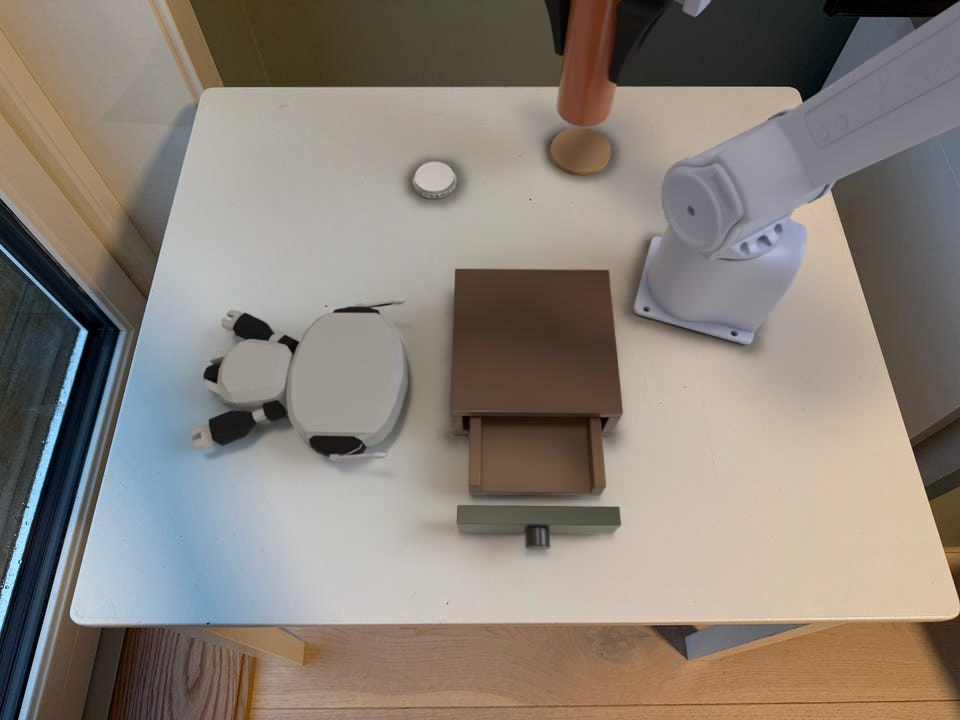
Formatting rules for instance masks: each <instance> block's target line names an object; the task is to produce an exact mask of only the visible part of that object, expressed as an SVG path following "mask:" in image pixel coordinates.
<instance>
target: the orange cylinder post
mask: <svg viewBox="0 0 960 720" xmlns="http://www.w3.org/2000/svg"><path fill="white" fill-rule="evenodd" d="M621 1H622V0H571V1H570V8H569V15H568V23H567V30H566V38H565V45H564V52H563V55H562V61H561V68H560V74H559V81H558V90H557V96H556V97H557V98H556V106H555V107H556V112H557V114H558V115H559V117H560V118H561V119H562V120H563V121H564V122H566V123H568V124H570V125H572V126H575V127H578V128H590V127H591V128H592V127H595V126H598V125H600V124H602V123H604V122H605V121H606V120H607V119H608V118H609V116H610V114H611V111H612V106H613V102H614V98H615V93H616V89H617V85H618V84H614V83H612V82H610V81H609V72H610V67H611V63H612V59H613V55H614V51H615V45H616V34H617V19H616V7H617V4H618V3H620V2H621Z"/></svg>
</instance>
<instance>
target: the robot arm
mask: <svg viewBox="0 0 960 720" xmlns="http://www.w3.org/2000/svg"><path fill="white" fill-rule="evenodd" d="M543 1H544V4H545V7H546V10H547V14H548V19H549V23H550V29H551V35H552V40H553V49H554V54H556V55H558V56H560V57H563V52H564V45H565V38H566V30H567V23H568V15H569V8H570V1H571V0H543ZM711 1H712V0H622V1H621V2H620V3H618V4H617V7H616V19H617V34H616V45H615V51H614V55H613V59H612V63H611V67H610V72H609V81H610V82H612V83H614V84H617V85H618V84H620V82H621V81H622V80H623V79H624V78H625V77H626V76H627V75H628V74H629V73H630V72H631V70H632V68H633V65H634V63H635V61H636V59H637V57H638V55H639V53H640V51H641V49H642V47H643V46H644V45H645V43H646V40H647V39H648V37H650V35H651V34H652V31H653V30H654V29H655V28H656V26H657V24H658V23H659V22H660V20H661V19H662V17H663V16H664V15H665V14H666V12H667V11H668V10H669V9H670V8H671V7H672V6H673V4H674V3H675V2H677V3H679V4H681V5H683V6H682V12H683V13H684V14H687V15H689V16H691V17H694V18H696V17H697V16H699V15H700V13H702V12H703V11H704V10H705V9H706V8H707V6H708V5H709V4H710V3H711ZM958 126H960V0H958V2H956V3H954V4H952V5H951V6H950V7H948V8H946V9H945V10H943V11H942V12H940V13H939V14H937V15H935V16H934V17H933V18H931V19H929V20H928V21H926V22H925V23H924V24H922V25H921V26H919V27H917V28H915V29H914V30H912V31H911V32H910V33H908V34H907V35H904V36H903V37H902V38H900V39H898V40H897V41H896V42H894V43H893V44H891V45H889V46H888V47H887V48H885V49H884V50H882V51H880V52H879V53H877V54H876V55H874V56H873V57H871V58H870V59H868V60H866V61H865V62H863V63H861V64H860V65H859V66H857V67H856V68H854V69H853V70H851V71H850V72H848V73H846V74H845V75H843V76H842V77H840V78H839V79H836V81H834V82H832V83H831V84H829V85H828V86H826V87H825V88H824V89H822V90H820V91H819V92H817V93H816V94H813V96H811V97H810V98H808V99H806V100H805V101H802V103H800V104H799V105H797V106H795V107H793V108H787V109H784V110H781V111H779V112H777V113H774V114H773V115H772V116H770V117H768V118H767V119H766V120H765V121H764V122H762V123H760V124H758V125H756V126H753V127H751V128H750V129H747V130H746V131H744V132H742V133H739V134H737V135H735V136H733V137H731V138H729V139H727V140H725V141H723V142H721V143H719V144H717V145H715V146H713V147H711V148H708V149H707V150H704V151H702V152H700V153H699V154H696V155H694V156H692V157H685V158H683V159H680V160H678V161H676V162H674V163H673V164H671V166H670V167H668V169H667V170H666V172H665V174H664V175H663V179H662V185H661V207H662V212H663V214H664V217H665V220H666V222H667V224H668V225H667V226H666V230H665V231H664V234H663V236H658V235H655V236H653V237H652V238H651V240H650V242H649V243H650V244H649V247H648V250H647V254H646V258H645V262H644V266H643V270H642V274H641V277H640V281H639V285H638V289H637V292H636V296H635V300H634V304H633V312H634V313H635V314H636V315H639V316H641V317H644V318H645V317H646V318H649V319H653V320H656V321H660V322H663V323H666V324H671V325H674V326H677V327H681V328H684V329H688V330H691V331H695V332H700V333H702V334H706V335H710V336H714V337H717V338H721V339H724V340H728V341H731V342H735V343H738V344H743V345H747V346H748V345H750V344H752V342H753V341H754V336H755V333H756V331H757V330H758V329H759V328H760V326H761V325H762V324H763V322H765V320H766V319H767V317H768V316H769V315H770V314H771V313H772V312H773V310H774V309H775V308H776V307H777V306H778V305H779V303H780V302H781V300H783V298H784V297H785V295H786V294H788V291H789V289H790V288H791V287H792V284H793V283H794V280H795V279H796V277H797V275H798V272H799V270H800V267H801V265H802V262H803V258H804V255H805V251H806V246H807V241H808V230H807V227H806V225H804V224H802V223H799V222H797V221H795V220H792V219H790V217H791V216H792V215H793V213H794V212H795V210H797V209H799V208H800V207H802V206H804V205H806V204H811V203H813V202H815V201H817V200H819V199H822V197H824V196H826V195H827V194H828V193H829V192H830V191H831V190H832V188H833V187H834V185H835V184H836V182H837V181H839V180H841V179H842V178H845V177H847V176H850V175H851V174H853V173H856V172H859V171H860V170H864V169H865V168H867V167H869V166H872V165H874V164H877V163H878V162H881V161H882V160H885V159H888V158H890V157H892V156H894V155H897V154H899V153H900V152H901V153H902V152H903V151H905V150H907V149H909V148H913V147H914V146H917V145H918V144H921V143H923V142H926V141H927V140H929V139H932V138H934V137H936V136H938V135H941V134H943V133H946V132H947V131H950V130H952V129H954V128H956V127H958ZM645 310H647V311H645ZM733 334H734V335H733Z"/></svg>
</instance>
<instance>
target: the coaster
mask: <svg viewBox="0 0 960 720" xmlns="http://www.w3.org/2000/svg"><path fill="white" fill-rule="evenodd" d="M549 152H550V157H551V159H552V161H553V163H554V164H555V165H556V166H557V167H558V168H559V169H561V170H562V171H564V172H565V173H568V174H571V175H577V176H588V175H593V174H596V173H598V172H600V171H602V170H603V169H605V167H607V165H608V163H609V161H610V160H611V155H612V149H611V145H610V143H609V142H608V140H607V138H606V137H604V136H603V135H602V134H601V133H600V132H597V131H596V130H593V129H590V128H587V127H572V128H568V129H565V130H563V131H561V132H559V133H558V134H557V135H556V136H555V137H554V138H553V140H552V142H551V144H550V149H549Z"/></svg>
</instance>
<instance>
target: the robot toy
mask: <svg viewBox="0 0 960 720" xmlns="http://www.w3.org/2000/svg"><path fill="white" fill-rule="evenodd" d="M406 301H407V300H406V299H404V298H394V299H393V300H386V301H380V302H374V303H366V304H363V303H362V302H360V303H355V304H354V305H353V306H349V305H348V306H346V307H340V308H337V309H334V310H333V312H327V313H325V314H324V315H322V316H320V317H317V318H316V319H315V320H314V321H313V322H312V323H311V324H310V325H309V326H308V327H307V329H306V330H305V331H304V333H303V334H302V336H301V338H300V341H299V340H298V339H296V338H293V337H291V336H289V335H287V334H283V335H282V336H281V337H280V336H278V335H276V334H275V332H274V330H273V329H272V328H271V326H270V325H269V323H268V322H266V321H264V320H262V319H261V318H258V317H257V316H255V315H252V314H250V313H247V312H243V311H241V310H237V309H236V310H235V309H230V310H228V311H227V312H226V314H225V315H226V316H227V317H228V318H230V320H229V319H228V318H225V317H223V318H222V319H221V322H220V323H221V327H222V328H223V329H224V330H225V331H227V332H233V333H234V335H235V336H237V337H238V338H240V339H242V340H241V341H238V342H236V343H235V344H234V345H233V346H230V347H227V348H223V349H220V350H217V351H216V352H215V353H214V354H213V355H212V357H211V358H210V359H209V362H210V363H211V364H210V365H208V366H206V368H205V369H204V372H203V375H202V378H203V381H204V383H205V387H206V389H207V390H208V391H209V392H210V393H211V394H212V395H214V396H215V398H217V399H218V400H219V401H220V402H222V403H224V404H227V405H230V406H231V407H232V408H233V409H235V410H233V409H232V410H229V411H227V412H224V413H221V414H219V415H216V416H213V417H211V418H209V419H208V425H198V426H197V427H196V428H194V429H193V430H191V432H190V434H189V438H190V440H191V442H190V443H191V447H192V448H193V449H194V450H196V451H204V450H207V449H210V448H211V447H212V446H213V445H215V443H216V444H217V445H219V446H222V447H224V446H225V445H228V444H230V443H233V442H235V441H238V440H242V439H244V438H246V437H247V436H248V435H249V433H250V432H251V431H252V430H253V429H254V427H256V425H257V424H258V423H259V422H262V421H265V420H269V421H270V422H273V423H274V422H277V421H280V420H282V419H285V418H287V415H288V420H289V422H290V423H291V425H292V427H293V429H294V431H295V432H296V434H298V435H299V437H301V439H303V441H305V442H307V443H309V446H310V447H311V449H312V450H314V452H316V453H318V454H320V455H322V456H324V457H326V458H328V459H329V461H330V462H333V463H340V462H343V461H344V460H359V459H361V460H362V459H374V458H375V459H384V458H385V457H387V456H388V454H386V453H384V452H381V451H377V452H374V453H365V452H366V449H367V448H368V447H372V446H375V445H378V444H381V443H382V442H383V441H384V440H385V439H386V438H387V436H389V434H391V432H392V430H393V429H394V427H395V425H396V424H397V421H398V419H399V416H400V414H401V411H402V408H403V405H404V401H405V397H406V395H407V390H408V388H409V373H408V371H409V370H408V357H407V353H406V349H405V345H404V342H403V340H402V337H401V334H400V331H399V330H398V327H397V326H396V325H395V323H394V321H393V320H392V319H391V318H389V317H387V316H384V315H382V314H381V313H380V311H379V309H376V308H381V307H386V306H394V305H396V306H400V305H403V304H405V302H406ZM286 411H287V412H286ZM342 460H343V461H342Z"/></svg>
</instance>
